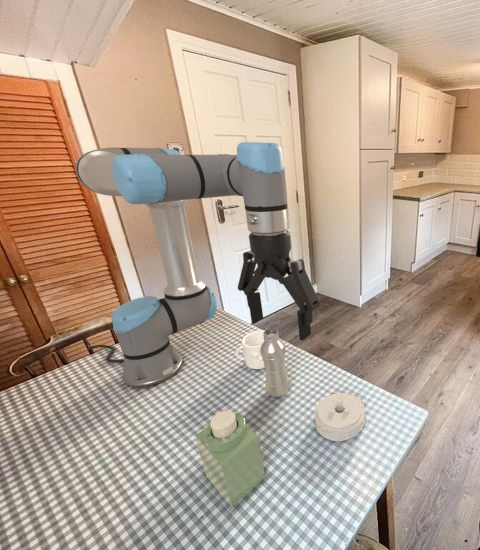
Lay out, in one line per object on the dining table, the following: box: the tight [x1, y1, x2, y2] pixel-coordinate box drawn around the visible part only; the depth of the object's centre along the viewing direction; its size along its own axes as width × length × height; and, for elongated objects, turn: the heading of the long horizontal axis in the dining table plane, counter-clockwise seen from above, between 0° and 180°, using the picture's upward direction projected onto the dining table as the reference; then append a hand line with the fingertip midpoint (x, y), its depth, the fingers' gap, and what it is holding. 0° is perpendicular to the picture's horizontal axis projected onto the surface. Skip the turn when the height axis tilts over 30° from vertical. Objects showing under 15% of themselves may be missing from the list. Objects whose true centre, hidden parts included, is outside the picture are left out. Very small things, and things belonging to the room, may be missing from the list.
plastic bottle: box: [260, 328, 291, 398], centre depth 83 cm, size 6×7×20 cm
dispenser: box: [194, 412, 266, 508], centre depth 61 cm, size 10×8×14 cm
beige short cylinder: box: [209, 410, 237, 439], centre depth 58 cm, size 4×4×2 cm
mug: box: [234, 329, 265, 370], centre depth 97 cm, size 12×10×9 cm
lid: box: [313, 392, 366, 442], centre depth 76 cm, size 13×13×5 cm
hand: (280, 328), depth 65 cm, fingers open, 13 cm apart
